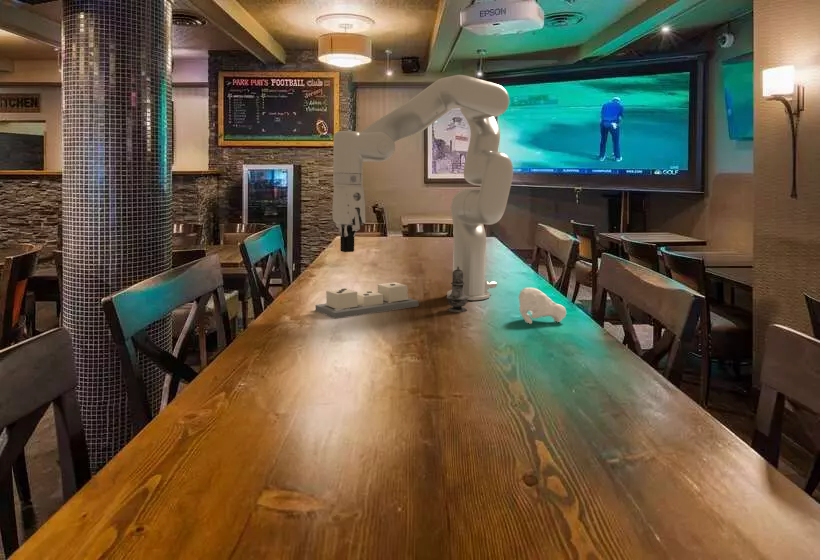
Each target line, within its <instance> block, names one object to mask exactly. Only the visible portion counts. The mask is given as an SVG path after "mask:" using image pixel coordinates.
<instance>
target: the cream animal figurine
mask: <svg viewBox="0 0 820 560" xmlns="http://www.w3.org/2000/svg"><path fill="white" fill-rule="evenodd" d="M518 300H519V301H518V302H519V307H518V308H519V313H520V316H521V317H522V318H523V320H524V321H525V323H526V324H528V323H529V324H528V325H532V324H533V320H534V319H538V318H546V317H551V318H552V319H553V321H557V323H558V322H560V321H561V322H562V321H563V319H565V318H566V316H567V310H566V307H565V306H563V305H562V304H559V303H556V302H555V301H553V300H552V299H551V298H550V297H549V296H548V295H547V294H546V293H544V292H543V291H541V290H540V289H538V288H536V287H524V288H522V289H521V290H520V293H519V295H518ZM528 312H529V313H530V314H531V315H530V314H529V313H528ZM532 319H533V320H532ZM561 322H560V323H561Z"/></svg>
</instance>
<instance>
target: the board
mask: <svg viewBox="0 0 820 560" xmlns="http://www.w3.org/2000/svg"><path fill="white" fill-rule="evenodd" d="M419 302H420V301H419V300H417V299H414V298H410V297H408V300H403V301H396V302H387V301H384V300H383V304H380V305H373V306H366V307H362V306H360V305H357V306H358V307H352V308H345V309H338V310H337V309H334V308H332V307H329V306H327V304H326V303H319V304H314V305H315V311H316V312H317V313H318V312H319V313H320V314H324V315H325V316H328V317H331V318H332V319H341V318H348V317H354V316H355V317H357V316H362V315H363V316H364V315H368V314H376V313H382V312H383V313H384V312H390V311H396V310H402V309H403V310H404V309H409V308H414V307H415V308H416V307H419V305H420V304H419Z"/></svg>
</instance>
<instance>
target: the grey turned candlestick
mask: <svg viewBox="0 0 820 560" xmlns="http://www.w3.org/2000/svg"><path fill="white" fill-rule="evenodd" d="M450 284H451V290H452V293H451V295H449V296H446V299H447V303H448V305H450V307H448V308H447V311H448V312H451V313H465V312H467V311H468V309H467V308H466V307H465V305H466V304H467V303H468V300H467V299H468V297H467V296H465V295H464V292H463V285H464V284H465V283H464V282H463V271H462V270H460V269H459V267H457V269H456V270H454V271H453V270H452V282H450Z"/></svg>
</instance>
